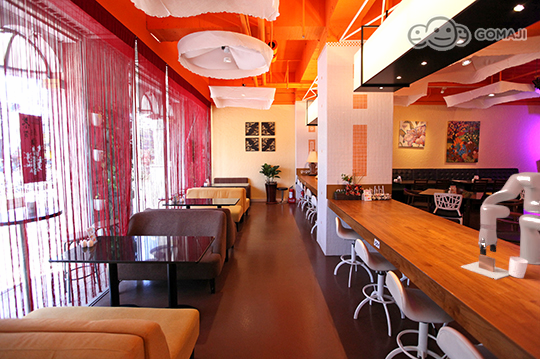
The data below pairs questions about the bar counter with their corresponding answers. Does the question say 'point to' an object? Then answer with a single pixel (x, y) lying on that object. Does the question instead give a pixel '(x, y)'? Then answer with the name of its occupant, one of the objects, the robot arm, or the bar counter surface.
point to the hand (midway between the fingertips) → (488, 253)
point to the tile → (487, 263)
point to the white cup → (517, 267)
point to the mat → (496, 275)
